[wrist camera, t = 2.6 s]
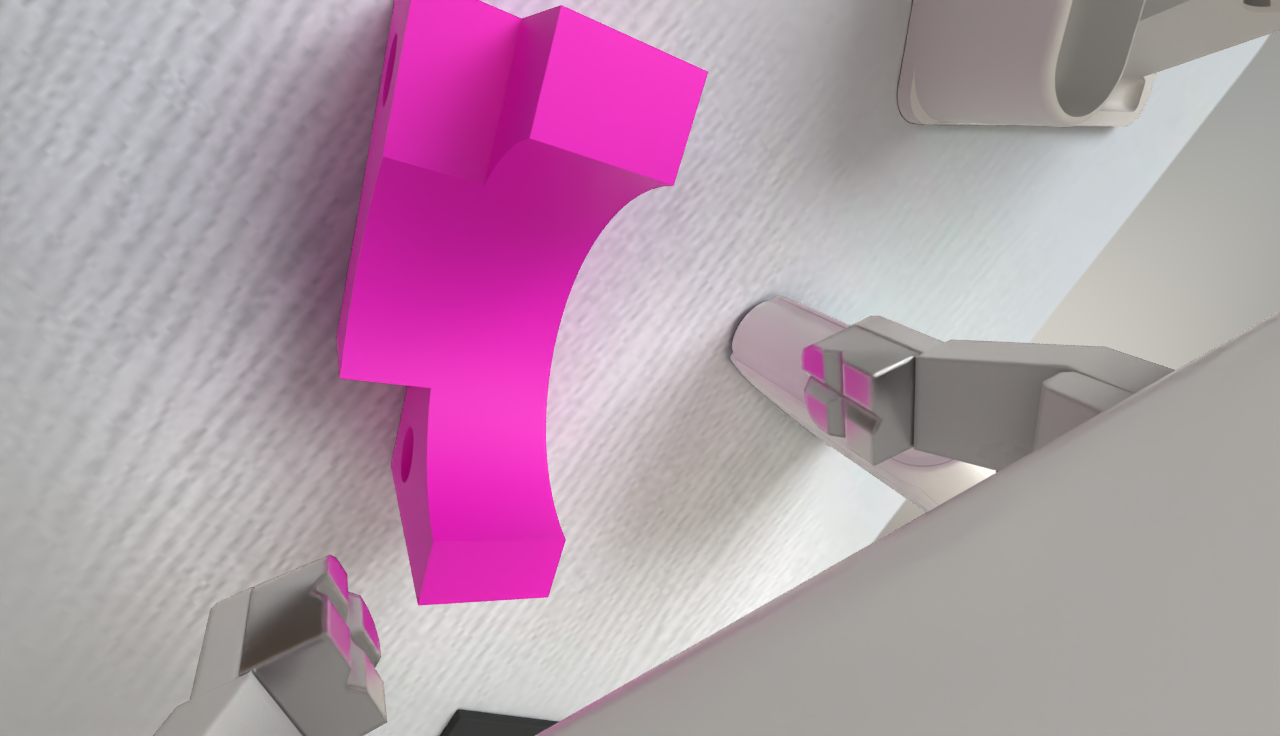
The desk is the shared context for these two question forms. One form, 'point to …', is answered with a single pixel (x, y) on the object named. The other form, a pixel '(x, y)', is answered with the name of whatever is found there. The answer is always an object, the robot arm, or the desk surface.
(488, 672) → the desk surface
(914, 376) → the robot arm
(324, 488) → the desk surface
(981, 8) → the phone holder
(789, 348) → the photo printer
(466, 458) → the toy block
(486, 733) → the mat
